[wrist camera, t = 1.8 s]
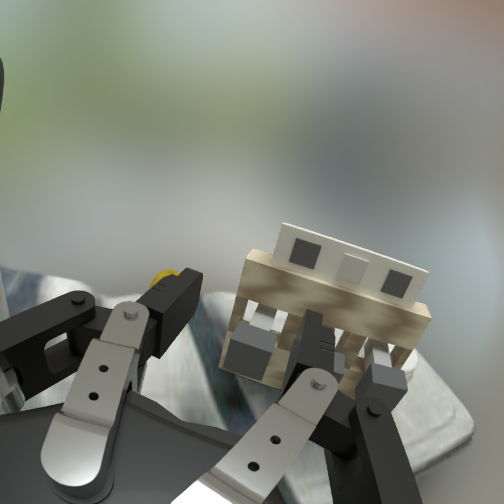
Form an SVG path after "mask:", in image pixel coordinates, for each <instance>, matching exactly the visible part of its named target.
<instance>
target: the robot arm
mask: <svg viewBox="0 0 504 504" xmlns="http://www.w3.org/2000/svg"><path fill="white" fill-rule="evenodd" d="M3 86H4V68H3V63H2V60H1V58H0V110H1V103H2V96H3ZM202 280H203V273H201V272H198V271H195V270H192V269H190V268H186V269H184V270H183V271H182V272H181V273H180V274H179V275H178V276H177V275H174V274H171V275H168V276H165V277H163V278H162V279H160V280H159V281H158V282H157V284H155V285H154V286H153V287H152V288H150V289H149V290H148V291H147V292H146V293H145V294H144V295H142V296H141V297H140V298H139V299H138V300H137V301H136V302H131V301H128V302H122V303H119V304H118V305H116V306H115V307H114V309H109V308H104V307H99V306H95V298H94V296H93V295H92V294H90V293H88V292H86V291H71V292H69V293H66V294H64V295H61V296H59V297H57V298H54V299H52V300H50V301H47V302H45V303H42V304H40V305H38V306H35V307H33V308H31V309H28V310H26V311H24V312H21V313H19V314H17V315H15V316H12V317H10V314H9V310H8V306H7V301H6V296H5V292H4V287H3V281H2V276H1V270H0V504H287V503H286V501H285V499H284V497H283V495H282V493H281V491H280V489H279V487H278V486H277V483H278V482H279V480H280V479H281V477H282V476H283V475H284V473H285V472H286V471H287V469H288V468H289V466H290V465H291V464H292V462H293V461H294V459H295V458H296V456H297V455H298V454H299V452H300V451H301V449H302V448H303V446H304V445H305V443H306V442H307V440H308V439H309V440H310V441H312V442H314V443H316V444H318V445H319V446H321V447H323V448H324V453H325V459H326V464H327V470H328V476H329V481H330V487H331V493H332V499H333V504H423V503H422V500H421V497H420V494H419V490H418V487H417V484H416V481H415V478H414V475H413V472H412V469H411V466H410V463H409V460H408V458H407V455H406V452H405V449H404V446H403V444H402V441H401V438H400V435H399V433H398V430H397V427H396V425H395V422H394V419H393V417H392V414H391V412H390V409H389V407H388V406H387V405H386V404H385V403H384V402H383V401H381V400H380V399H378V398H375V397H371V396H366V397H362V398H360V399H359V400H358V401H355V400H354V399H352V398H350V397H348V396H346V395H345V394H343V393H342V392H341V391H340V390H339V389H338V383H337V380H336V379H335V377H334V376H333V374H334V357H335V353H334V352H335V335H334V333H333V331H332V329H331V328H329V327H325V326H322V322H323V313H319V312H316V311H313V310H310V309H306V311H305V314H304V316H303V319H302V321H301V324H300V326H299V329H298V331H297V334H296V336H295V339H294V341H293V344H292V348H291V351H290V356H289V360H288V364H287V368H286V372H285V376H284V380H283V384H282V388H281V391H280V395H279V399H278V403H277V402H275V403H273V404H272V405H271V406H270V408H269V409H268V410H267V411H266V412H265V413H264V414H263V416H262V417H261V418H260V419H259V420H258V421H257V422H256V423H255V424H254V426H253V427H252V428H251V429H250V430H249V431H248V432H247V433H246V434H245V435H244V436H240V435H237V434H234V433H231V432H228V431H225V430H223V429H220V428H217V427H212V426H206V425H200V424H195V423H189V422H185V421H182V420H180V419H179V418H177V417H176V416H175V415H173V414H172V413H170V412H169V411H168V410H166V409H165V408H164V407H162V406H161V405H160V404H158V403H157V402H155V401H153V400H151V399H149V398H147V397H144V396H142V395H140V393H141V389H142V384H143V380H144V376H145V372H146V368H147V360H148V359H149V358H150V357H151V355H152V356H154V357H156V358H158V359H160V358H161V357H162V356H163V354H164V353H165V352H166V350H167V349H168V348H169V346H170V345H171V344H172V342H173V341H174V340H175V338H176V337H177V336H178V335H179V333H180V332H181V331H182V329H183V328H184V327H185V325H186V324H187V323H188V322H189V320H190V319H191V318H192V316H193V315H194V313H195V311H196V309H197V306H198V302H199V296H200V290H201V285H202ZM65 332H66V334H67V339H65V340H63V341H61V342H59V343H57V344H55V345H53V346H51V347H49V348H47V349H46V350H44V347H45V345H46V343H47V342H48V341H49V340H51V339H53V338H55V337H57V336H59V335H61V334H63V333H65ZM76 371H77V373H76V376H75V378H74V380H73V383H72V385H71V388H70V390H69V392H68V395H67V397H66V400H65V402H64V403H60V404H55V405H50V406H45V407H40V408H35V409H30V410H25V411H21V409H22V407H23V405H24V402H25V401H27V400H28V399H30V398H32V397H33V396H35V395H37V394H39V393H40V392H42V391H44V390H46V389H47V388H49V387H51V386H52V385H54V384H56V383H58V382H59V381H61V380H63V379H64V378H66V377H68V376H70V375H71V374H73V373H75V372H76Z"/></svg>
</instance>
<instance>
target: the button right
mask: <svg viewBox="0 0 504 504" xmlns="http://www.w3.org/2000/svg"><path fill="white" fill-rule="evenodd" d="M364 358H365V373H364V375H363V376H362V378H361V380H360V381H359V383H358V384H357V386H356V387H355V401H358V400H359V399H360V398H362V397H366V396H371V397H375V398H378V399H380V400H381V401H383V402H384V403H385V404H386V405H387V406H388V407H389V409H390V412H392V410H393V409H394V408H395V407H396V405H397V404H398V403H399V401H400V400H401V399H402V398H403V396H404V395H405V394H406V392H407V391H408V388H407V382H406V377H405V372H404V371H403V370H399V369H395V368H392V365H391V359H390V353H389V347H388V343H385V342H382V341H378V340H375V339H371V338H368V339H367V341H366V343H365V345H364Z"/></svg>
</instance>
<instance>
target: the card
mask: <svg viewBox="0 0 504 504" xmlns="http://www.w3.org/2000/svg"><path fill="white" fill-rule="evenodd" d="M271 264H274V265H277V266H280V267H283V268H286V269H289V270H292V271H295V272H298V273H301V274H304V275H307V276H311V277H314V278H317V279H320V280H323V281H326V282H329V283H332V284H335V285H338V286H341V287H344V288H348V289H351V290H354V291H357V292H360V293H363V294H366V295H369V296H372V297H375V298H379V299H382V300H385V301H388V302H391V303H394V304H397V305H400V306H403V307H407V308H410V309H412V308H413V306H414V304H415V302H416V300H417V298H418V296H419V294H420V292H421V290H422V288H423V286H424V284H425V282H426V280H427V278H428V275H429V272H428V271H426V270H424V269H421V268H418V267H415V266H413V265H410V264H407V263H404V262H401V261H398V260H396V259H393V258H390V257H387V256H384V255H381V254H378V253H375V252H373V251H369V250H367V249H363V248H361V247H358V246H355V245H352V244H349V243H346V242H343V241H340V240H337V239H334V238H331V237H328V236H325V235H322V234H319V233H316V232H313V231H310V230H307V229H303V228H300V227H297V226H294V225H291V224H288V223H285V222H283V223H282V226H281V230H280V233H279V237H278V240H277V244H276V247H275V251H274V254H273V257H272V261H271Z"/></svg>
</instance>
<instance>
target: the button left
mask: <svg viewBox="0 0 504 504" xmlns="http://www.w3.org/2000/svg"><path fill="white" fill-rule="evenodd" d="M276 312H277V309H275V308H272V307H269V306H266V305H263V304H260V303H259V304H258V307H257V309H256V311H255V313H254V315H253V317H252V319H251V322H250V324H247V323H244V322H241V321H239V323H238V325H237V327H236V329H235V331H234V332H233V334H232V336H231V338H230V342H229V346H228V349H227V353H226V357H225V361H224V365H223V368H225V369H227V370H230V371H233V372H236V373H238V374H241V375H244V376H247V377H250V378H253V379H256V380H259V381H262V378H263V376H264V373H265V371H266V368H267V365H268V363H269V360H270V358H271V355H272V352H273V349H274V346H275V343H276V340H277V336H278V334H276V333H273V332H270V329H271V326H272V323H273V320H274V318H275V315H276Z"/></svg>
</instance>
